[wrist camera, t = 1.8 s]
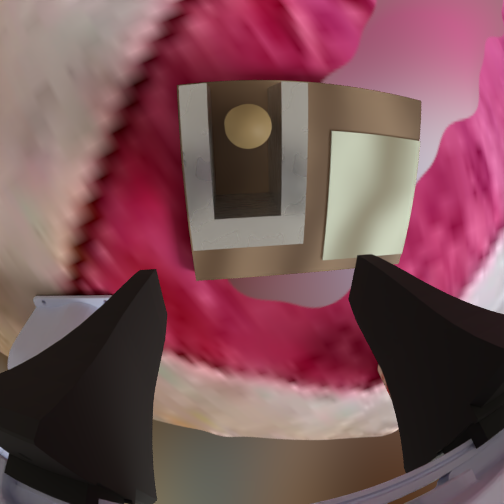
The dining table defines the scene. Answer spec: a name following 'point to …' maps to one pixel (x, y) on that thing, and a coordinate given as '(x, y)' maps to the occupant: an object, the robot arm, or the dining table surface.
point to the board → (318, 175)
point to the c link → (247, 204)
